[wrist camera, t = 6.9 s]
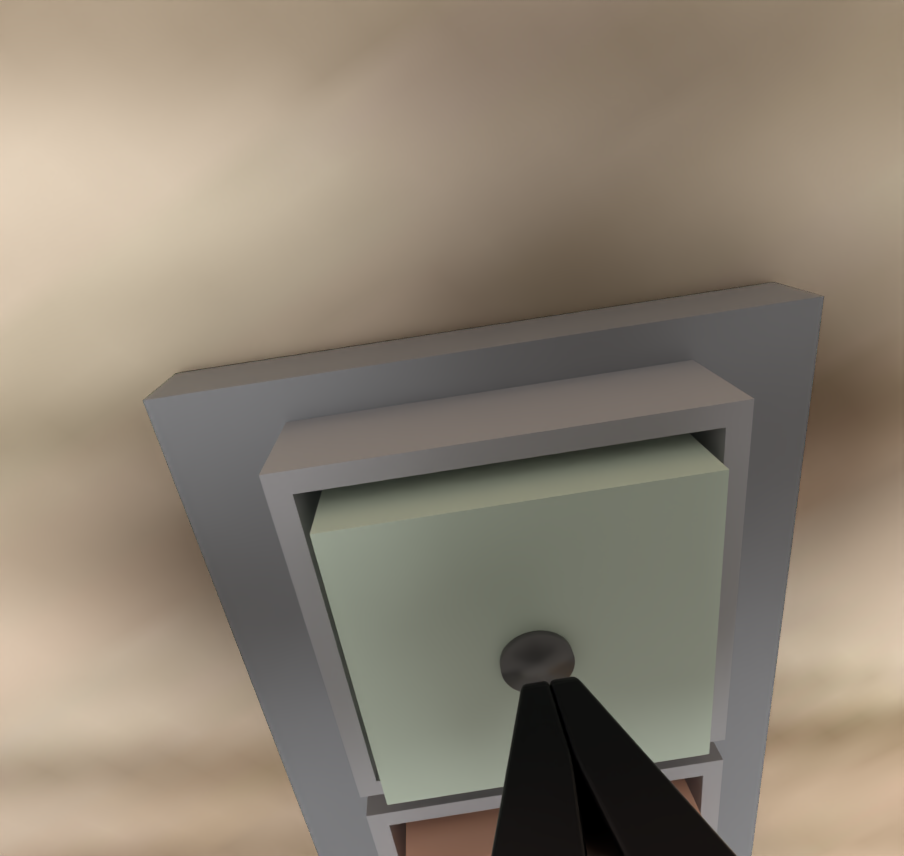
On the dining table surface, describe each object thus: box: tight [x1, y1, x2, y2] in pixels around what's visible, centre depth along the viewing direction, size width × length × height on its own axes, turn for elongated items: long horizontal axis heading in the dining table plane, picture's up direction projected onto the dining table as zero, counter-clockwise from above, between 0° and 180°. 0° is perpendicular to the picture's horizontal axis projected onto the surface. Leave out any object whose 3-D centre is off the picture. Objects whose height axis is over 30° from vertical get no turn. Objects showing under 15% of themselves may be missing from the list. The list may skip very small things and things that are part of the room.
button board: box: [143, 282, 824, 856], centre depth 15 cm, size 25×12×4 cm, turn 8°
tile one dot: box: [310, 433, 729, 805], centre depth 10 cm, size 6×6×3 cm
